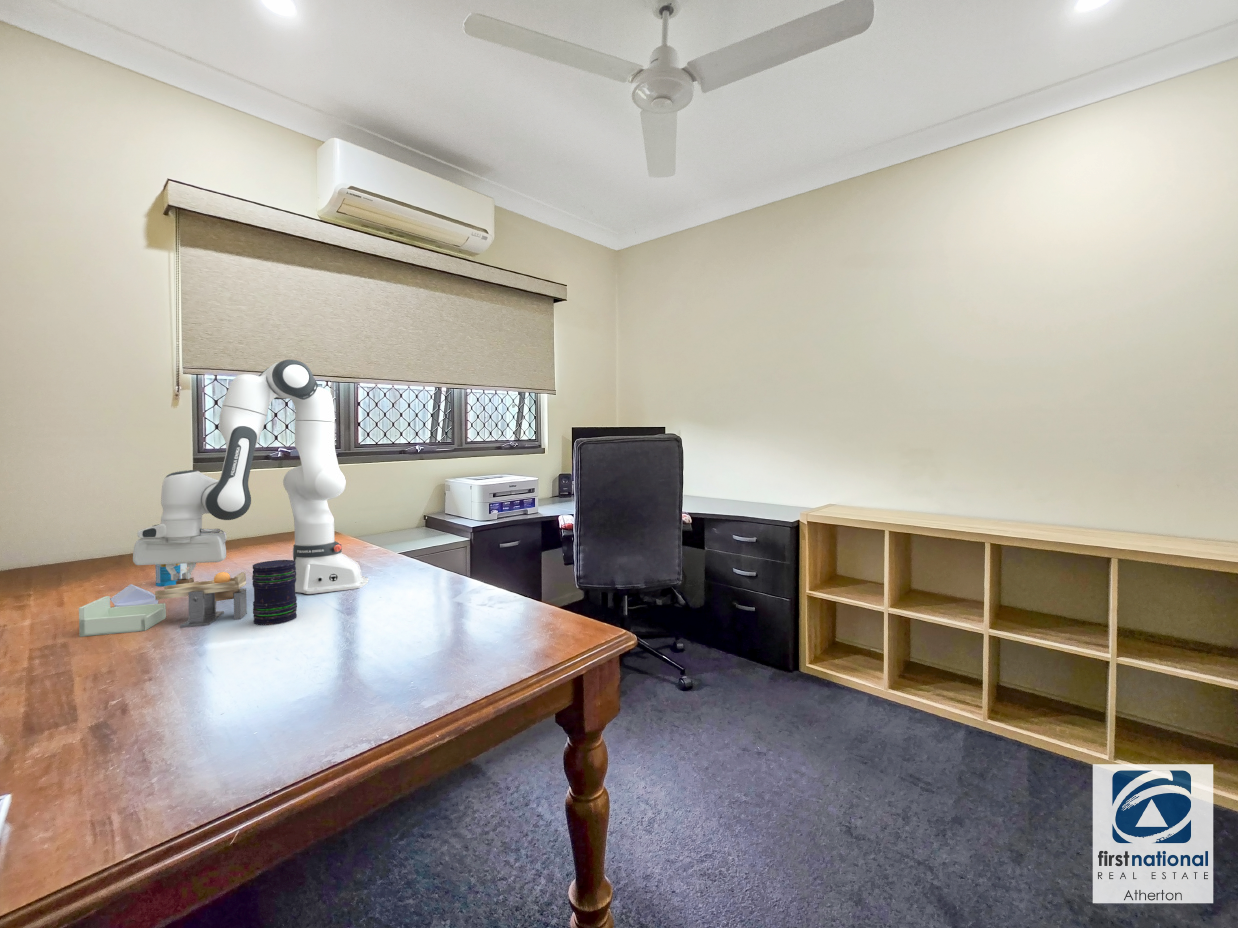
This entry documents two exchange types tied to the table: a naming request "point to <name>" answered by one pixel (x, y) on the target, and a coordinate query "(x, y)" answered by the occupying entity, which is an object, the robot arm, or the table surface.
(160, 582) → the beverage bottle
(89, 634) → the tray
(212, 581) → the lever
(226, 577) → the ball
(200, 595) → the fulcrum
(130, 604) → the wedge on round base
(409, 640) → the table surface
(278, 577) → the dark barrel
